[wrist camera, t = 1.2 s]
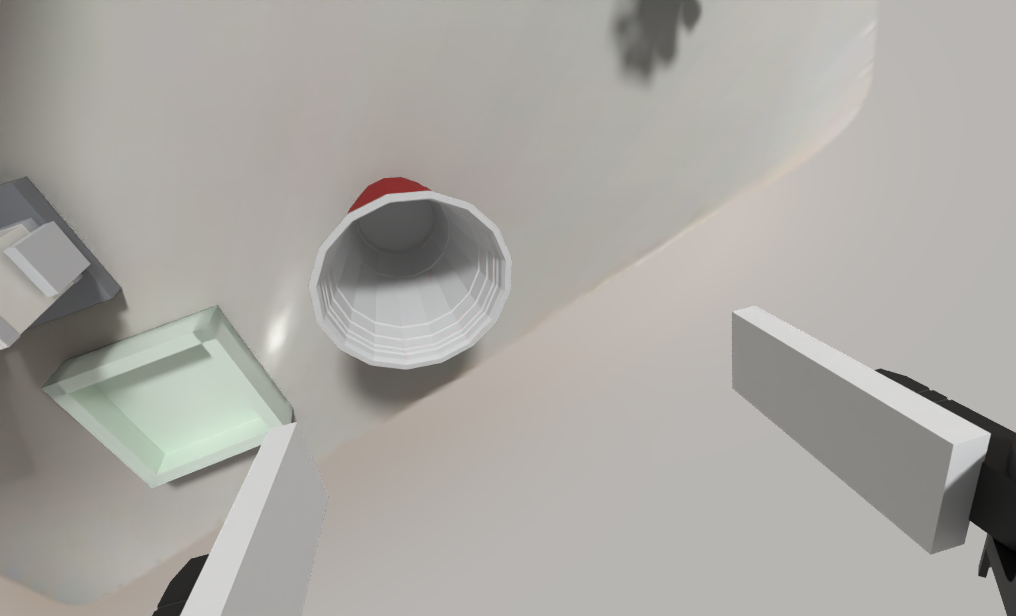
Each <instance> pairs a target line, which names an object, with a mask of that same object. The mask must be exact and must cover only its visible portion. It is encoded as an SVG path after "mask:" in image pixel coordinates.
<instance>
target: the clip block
mask: <svg viewBox="0 0 1016 616" xmlns="http://www.w3.org/2000/svg"><path fill="white" fill-rule="evenodd" d="M28 218H32V219H33V220H34V221H35V222H36V223H37V225H38V226H39V227H38V228H37V229H35V230H34V231H32V232H31V233H29V234H28V235H26V236H25V237H23V238H22V239H20V240H19V241H17V242H16V243H14V244H13V245H11V246H10V247H8V248H7V249H5V250H4V251H3V252H4V253H5V254H6V255H7V256H8V257H9V258H10V259H11V260H12V261H13V262H14V263H15V264H16V265H17V266H18V267H19V268H20V269H21V270H22V271H23V272H24V273H25V274H26V275H27V277H28V278H29V279H30V280H31V281H32V282H33V283H34V284H35V285H36V286H37V287H38V288H39V289H40V290H41V291H42V292H43V293H44V294H45V295H46V296H47V297H51V296H54V295H57V294H59V293H60V292H61V291H62V290H63V289H64V288H65V287H67V286H68V285H69V284H70V283H71V282H72V281H73V280H74V279H75V278H76V277H77V276H78V275H79V274H80V273H81V274H82V275H83V277H82V278H81V279H80V280H79V281H78V282H77V283H75V284H73V285H72V286H71V287H70V288H69V289H68V290H66V291H65V292H64V293H63V294H62V295H61V296H60V297H59V298H58V299H57V300H56V301H55V302H54V303H53V304H52V305H51V306H50V307H49V308H48V309H47V310H45V311H44V312H43V313H42V314H41V315H40V316H39V317H38V318H37V319H36V320H35V321H34V322H33V323H32V324H31V325H30V326H29V327H28V328H27V329H29V328H32V327H35V326H38V325H41V324H43V323H46V322H49V321H52V320H54V319H57V318H60V317H63V316H66V315H68V314H71V313H74V312H77V311H79V310H82V309H85V308H88V307H91V306H93V305H96V304H99V303H102V302H104V301H107V300H110V299H112V298H113V297H114V296H115V295H116V294H117V293H118V291H119V290H120V289H121V287H120V286H119V285H118V284H117V282H116V281H115V280H114V279H113V278H112V277H111V275H110V274H109V273H108V272H107V271H106V270H105V268H104V267H103V266H102V265H101V264H100V262H99V261H98V260H97V259H96V258H95V257H94V255H93V254H92V253H91V252H90V251H89V250H88V248H87V247H86V246H85V245H84V244H83V242H82V241H81V240H80V239H79V238H78V237H77V235H76V234H75V233H74V232H73V231H72V229H71V228H70V227H69V226H68V225H67V224H66V222H65V221H64V220H63V219H62V218H61V217H60V215H59V214H58V213H57V212H56V211H55V209H54V208H53V207H52V206H51V205H50V204H49V202H48V201H47V200H46V199H45V198H44V197H43V195H42V194H41V193H40V192H39V191H38V189H37V188H36V187H35V186H34V185H33V184H32V182H31V181H30V180H29V179H28V178H27V177H23V178H20V179H17V180H14V181H11V182H8V183H5V184H2V185H0V228H2V227H5V226H8V225H11V224H14V223H17V222H20V221H23V220H26V219H28ZM27 329H25V330H27Z"/></svg>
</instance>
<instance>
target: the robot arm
mask: <svg viewBox="0 0 1016 616" xmlns="http://www.w3.org/2000/svg"><path fill="white" fill-rule="evenodd" d="M732 372H733V373H732V377H733V380H732V382H733V389H734V390H735V391H737V392H738V393H739V394H740V395H741V396H743V397H744V398H745V399H746V400H747V401H748V402H750V403H751V404H752V405H753V406H755V407H756V408H757V409H758V410H759V411H760V412H762V413H763V414H764V415H765V416H766V417H768V418H769V419H770V420H771V421H772V422H773V423H775V424H776V425H777V426H778V427H779V428H781V429H782V430H783V431H784V432H785V433H787V434H788V435H789V436H790V437H791V438H792V439H794V440H795V441H796V442H797V443H798V444H800V445H801V446H802V447H803V448H804V449H806V450H807V451H808V452H809V453H810V454H812V455H813V456H814V457H815V458H817V460H819V461H820V462H821V463H822V464H823V465H825V466H826V467H827V468H828V469H829V470H831V471H832V472H833V473H834V474H835V475H837V476H838V477H839V478H840V479H841V480H842V481H844V482H845V483H846V484H847V485H848V486H850V487H851V488H852V489H853V490H854V491H856V492H857V493H858V494H859V495H860V496H862V497H863V498H864V499H865V500H866V501H867V502H869V503H870V504H871V505H872V506H873V507H875V508H876V509H877V510H878V511H880V512H881V513H882V514H883V515H884V516H885V517H887V518H888V519H889V520H890V521H891V522H893V523H894V524H895V525H896V526H897V527H898V528H900V529H901V530H902V531H903V532H904V533H906V534H907V535H908V536H909V537H910V538H912V539H913V540H914V541H915V542H916V543H918V544H919V545H920V546H921V547H922V548H923V549H925V550H926V551H927V552H928V553H930V554H934V553H937V552H940V551H943V550H947V549H950V548H953V547H956V546H959V545H962V544H964V543H965V538H966V535H967V530H968V526H969V522H970V521H971V522H973V523H974V524H975V525H977V526H978V527H980V528H981V529H982V530H984V531H985V532H987V533H988V534H987V538H986V541H985V545H984V549H983V553H982V556H981V560H980V564H979V572H978V575H979V576H981V577H985V578H986V576H987V572H988V569H989V567H992V570H993V573H994V576H995V579H996V582H997V585H998V588H999V591H1000V595H1001V597H1002V601H1003V604H1004V607H1005V610H1006V613H1007V616H1016V433H1015V432H1013V431H1011V430H1009V429H1007V428H1005V427H1003V426H1001V425H1000V424H997V423H996V422H994V421H992V420H990V419H988V418H986V417H984V416H982V415H980V414H978V413H976V412H974V411H972V410H970V409H969V408H967V407H965V406H963V405H961V404H959V403H957V402H955V401H953V400H948V399H947V397H946V396H944V395H942V394H940V393H938V392H936V391H934V390H932V391H930V390H929V388H928V387H926V386H924V385H922V384H920V383H918V382H917V381H914V380H913V379H911V378H909V377H907V376H903V375H900V374H897V373H893V372H890V371H886V370H883V369H877V370H873V369H870V368H869V367H867V366H865V365H863V364H862V363H859V362H858V361H856V360H854V359H852V358H851V357H849V356H847V355H845V354H843V353H841V352H839V351H838V350H836V349H834V348H832V347H830V346H828V345H826V344H825V343H823V342H821V341H819V340H817V339H815V338H813V337H812V336H810V335H808V334H806V333H804V332H802V331H801V330H799V329H797V328H795V327H793V326H791V325H790V324H788V323H786V322H784V321H782V320H780V319H778V318H777V317H775V316H773V315H771V314H769V313H767V312H766V311H764V310H762V309H760V308H758V307H756V306H753V307H749V308H745V309H741V310H737V311H733V312H732ZM328 498H329V496H328V494H327V491H326V489H325V487H324V485H323V482H322V480H321V478H320V475H319V473H318V470H317V468H316V465H315V463H314V461H313V458H312V456H311V454H310V451H309V449H308V446H307V444H306V442H305V439H304V437H303V435H302V432H301V430H300V428H299V425H298V423H297V422H295V423H291V424H287V425H283V426H279V427H275V428H271V429H269V430H268V433H267V435H266V437H265V439H264V441H263V443H262V445H261V447H260V449H259V451H258V454H257V456H256V458H255V460H254V462H253V464H252V466H251V468H250V470H249V472H248V474H247V477H246V479H245V481H244V483H243V485H242V487H241V489H240V491H239V493H238V495H237V498H236V500H235V502H234V504H233V506H232V508H231V510H230V512H229V514H228V516H227V519H226V521H225V523H224V525H223V527H222V529H221V531H220V533H219V535H218V538H217V539H216V542H215V544H214V546H213V548H212V550H211V552H210V554H207V555H203V556H199V557H196V558H192V559H190V560H189V561H188V563H187V564H186V565H185V566H184V567H183V568H182V569H181V570H180V572H179V573H178V574H177V575H176V576H175V577H174V578H173V579H172V581H171V582H170V583H169V585H168V587H167V589H166V591H165V593H164V595H163V596H162V598H161V600H160V602H159V604H158V609H157V611H155V612H154V613H153V615H152V616H301V615H302V610H303V606H304V602H305V598H306V593H307V589H308V585H309V580H310V576H311V572H312V567H313V563H314V558H315V554H316V550H317V546H318V542H319V537H320V533H321V529H322V524H323V520H324V516H325V511H326V507H327V503H328Z"/></svg>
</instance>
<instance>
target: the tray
mask: <svg viewBox="0 0 1016 616" xmlns="http://www.w3.org/2000/svg"><path fill="white" fill-rule="evenodd" d="M41 389H42V390H43V391H44V392H45V393H46V394H48V395H49V396H50V397H51V398H52V399H53V400H54V401H55V402H57V403H58V404H59V405H60V406H61V407H62V408H63V409H64V410H65V411H67V412H68V413H69V414H70V415H71V416H72V417H73V418H74V419H75V420H77V421H78V422H79V423H80V424H81V425H82V426H83V427H84V428H86V429H87V430H88V431H89V432H90V433H91V434H92V435H93V436H94V437H96V438H97V439H98V440H99V441H100V442H101V443H102V444H103V445H104V446H106V447H107V448H108V449H109V450H110V451H111V452H112V453H113V454H115V455H116V456H117V457H118V458H119V459H120V460H121V461H122V462H123V463H125V464H126V465H127V466H128V467H129V468H130V469H131V470H132V471H134V472H135V473H136V474H137V475H138V476H139V477H140V478H141V479H142V480H144V481H145V482H146V483H147V484H148V485H149V486H150V487H151V488H154V487H157V486H159V485H162V484H164V483H167V482H169V481H172V480H174V479H177V478H179V477H182V476H184V475H187V474H189V473H192V472H194V471H197V470H199V469H202V468H204V467H207V466H209V465H212V464H214V463H217V462H220V461H222V460H225V459H227V458H230V457H232V456H235V455H237V454H240V453H242V452H245V451H247V450H250V449H252V448H255V447H257V446H260V445H262V443H263V441H264V439H265V437H266V435H267V433H268V430H269V429H271V428H275V427H279V426H283V425H287V424H291V420H292V413H293V408H292V407H291V405H290V404H289V403H288V401H287V400H286V399H285V397H284V396H283V394H282V393H281V392H280V390H279V389H278V388H277V386H276V385H275V384H274V382H273V381H272V379H271V378H270V377H269V375H268V374H267V373H266V371H265V370H264V369H263V367H262V366H261V364H260V363H259V362H258V360H257V359H256V358H255V356H254V355H253V354H252V352H251V351H250V349H249V348H248V347H247V345H246V344H245V343H244V341H243V340H242V339H241V337H240V336H239V335H238V333H237V332H236V330H235V329H234V328H233V326H232V325H231V324H230V322H229V321H228V320H227V318H226V317H225V315H224V314H223V313H222V311H221V310H220V309H219V307H218V306H214V307H211V308H209V309H206V310H203V311H200V312H198V313H195V314H192V315H190V316H187V317H184V318H181V319H179V320H176V321H173V322H171V323H168V324H165V325H162V326H160V327H157V328H154V329H152V330H149V331H146V332H143V333H141V334H138V335H135V336H133V337H130V338H127V339H124V340H122V341H119V342H116V343H114V344H111V345H108V346H105V347H103V348H100V349H97V350H95V351H92V352H89V353H86V354H84V355H81V356H78V357H76V358H73V359H70V360H68V361H65V362H63V363H62V364H61V366H60V367H59V368H58V369H57V370H56V371H55V373H54V374H53V375H52V376H51V377H50V379H49V380H48V381H47V382H46V383H45V385H44V386H43V387H42V388H41Z"/></svg>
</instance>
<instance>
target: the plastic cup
mask: <svg viewBox="0 0 1016 616" xmlns="http://www.w3.org/2000/svg"><path fill="white" fill-rule="evenodd" d="M511 261H512V259H511V256H510V254H509V251H508V249H507V247H506V244H505V242H504V240H503V237H502V235H501V233H500V230H499V228H498V227H497V226H496V225H495V224H494V223H493V222H491V221H490V220H489V219H488V218H487V217H486V216H485V215H484V214H482V213H481V212H480V211H479V210H478V209H477V208H476V207H474V206H473V205H472V204H471V203H468V202H465V201H462V200H459V199H455V198H452V197H449V196H446V195H443V194H439V193H436V192H433V191H431V190H430V189H428V188H427V187H424V186H422V185H420V184H419V183H417V182H414V181H411V180H408V179H405V178H402V177H398V178H384V179H382V180H380V181H377V182H375V183H373V184H371V185H369V186H368V187H367V188H366V189H365V190H364V192H363V193H362V194H361V195H360V196H359V197H358V199H357V200H356V202H355V203H354V204H353V205H352V207H351V208H350V210H349V212H348V213H347V215H346V216H345V218H344V219H343V220H342V221H341V222H340V223H339V225H338V226H337V227H336V228H335V229H334V231H333V232H332V233H331V234H330V235H329V236H328V238H327V239H326V240H325V241H324V242H323V243H322V245H321V246H320V247H319V249H318V253H317V257H316V260H315V264H314V268H313V272H312V275H311V279H310V283H309V291H310V295H311V300H312V304H313V309H314V313H315V318H316V322H317V323H318V324H319V326H320V327H321V328H322V329H323V331H324V332H325V333H326V334H327V335H328V337H329V338H330V339H331V340H332V341H333V343H334V344H335V345H336V346H337V348H338V349H339V350H341V351H343V352H345V353H347V354H349V355H351V356H353V357H355V358H357V359H359V360H361V361H363V362H365V363H367V364H369V365H372V366H380V367H388V368H397V369H405V370H407V369H412V368H417V367H423V366H428V365H433V364H438V363H442V362H444V361H446V360H448V359H450V358H452V357H453V356H455V355H457V354H459V353H461V352H463V351H465V350H467V349H468V348H470V347H472V346H473V345H474V344H475V343H476V342H477V341H478V340H479V339H480V338H481V337H482V336H483V335H484V334H485V333H486V332H487V331H488V330H489V329H490V328H491V327H492V326H493V325H494V324H495V323H496V322H497V320H498V318H499V315H500V313H501V311H502V309H503V307H504V304H505V302H506V300H507V298H508V296H509V293H510V289H511Z"/></svg>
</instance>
